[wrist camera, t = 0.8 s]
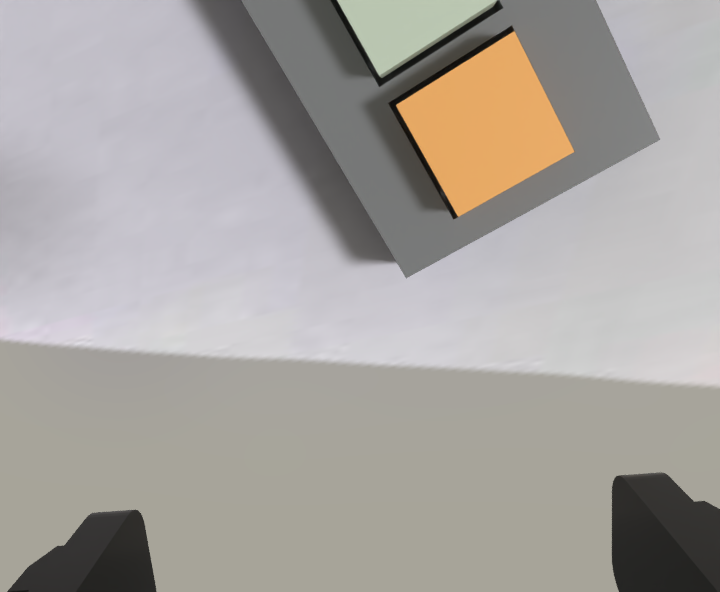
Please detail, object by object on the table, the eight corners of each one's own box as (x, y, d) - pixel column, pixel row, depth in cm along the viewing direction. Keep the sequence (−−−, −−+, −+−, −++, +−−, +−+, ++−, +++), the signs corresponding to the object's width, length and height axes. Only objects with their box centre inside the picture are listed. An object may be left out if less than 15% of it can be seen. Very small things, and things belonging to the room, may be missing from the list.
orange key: (397, 105, 28) (395, 105, 26) (507, 36, 26) (514, 31, 25) (455, 209, 29) (458, 217, 27) (564, 148, 28) (574, 151, 26)
